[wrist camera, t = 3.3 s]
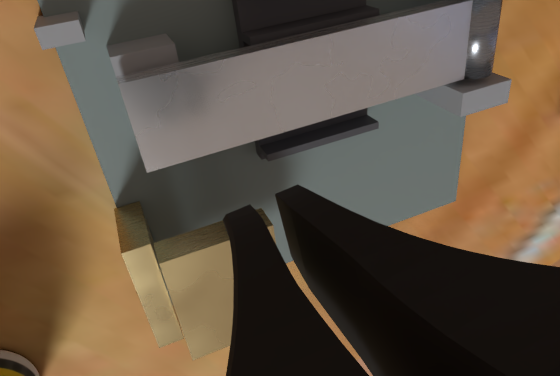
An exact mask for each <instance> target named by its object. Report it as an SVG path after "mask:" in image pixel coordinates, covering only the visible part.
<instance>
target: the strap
mask: <svg viewBox="0 0 560 376" xmlns="http://www.w3.org/2000/svg"><path fill="white" fill-rule="evenodd" d="M501 7H502V0H443V1H439V2H435V3H430V4H426V5H422V6H417V7H413V8H409V9H404V10H400V11H396V12H392V13H387V14H383V15H379V16H374V17H370V18H366V19H362V20H357V21H353V22H349V23H344V24H340V25H336V26H332V27H327V28H323V29H319V30H314V31H310V32H306V33H301V34H297V35H293V36H289V37H284V38H280V39H276V40H271V41H267V42H263V43H259V44H254V45H250V46H246V47H241V48H237V49H233V50H229V51H224V52H220V53H216V54H211V55H207V56H203V57H198V58H194V59H190V60H186V61H181V62H177V63H173V64H168V65H164V66H160V67H156V68H151V69H147V70H143V71H138V72H134V73H130V74H126V75H121V76H117V77H116V79H117V82H118V86H119V89H120V92H121V95H122V98H123V101H124V104H125V107H126V110H127V113H128V117H129V120H130V123H131V126H132V129H133V132H134V135H135V138H136V141H137V144H138V148H139V151H140V154H141V157H142V160H143V163H144V166H145V169H146V171H147V173H148V172H152V171H155V170H158V169H162V168H165V167H168V166H172V165H175V164H179V163H182V162H185V161H189V160H192V159H196V158H199V157H202V156H206V155H209V154H212V153H216V152H219V151H223V150H226V149H229V148H233V147H236V146H239V145H243V144H246V143H250V142H253V141H256V140H260V139H263V138H267V137H270V136H273V135H277V134H280V133H283V132H287V131H290V130H294V129H297V128H300V127H304V126H307V125H311V124H314V123H317V122H321V121H324V120H327V119H331V118H334V117H338V116H341V115H344V114H348V113H351V112H354V111H358V110H361V109H365V108H368V107H371V106H375V105H378V104H382V103H385V102H388V101H392V100H395V99H398V98H402V97H405V96H409V95H412V94H415V93H419V92H422V91H426V90H429V89H432V88H436V87H439V86H442V85H446V84H449V83H453V82H456V81H459V80H463V79H482V78H486V77H488V76H490V75H491V74H492V69H493V62H494V55H495V48H496V42H497V35H498V28H499V21H500V14H501Z"/></svg>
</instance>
